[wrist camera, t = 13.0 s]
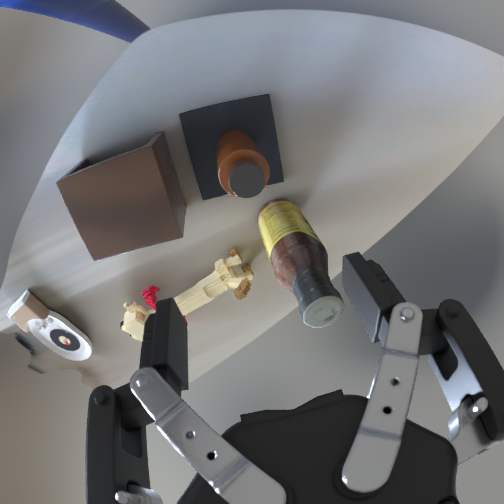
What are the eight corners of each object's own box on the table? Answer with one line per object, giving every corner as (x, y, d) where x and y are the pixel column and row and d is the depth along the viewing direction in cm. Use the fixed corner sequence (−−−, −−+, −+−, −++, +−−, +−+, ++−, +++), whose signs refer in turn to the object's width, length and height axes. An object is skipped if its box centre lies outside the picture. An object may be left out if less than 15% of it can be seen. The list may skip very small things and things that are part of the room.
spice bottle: (211, 134, 33) (213, 162, 23) (249, 126, 33) (269, 149, 23) (220, 170, 36) (226, 211, 26) (256, 161, 36) (278, 199, 26)
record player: (24, 297, 39) (100, 357, 50) (30, 285, 41) (102, 346, 52) (4, 318, 41) (71, 370, 52) (9, 307, 43) (74, 359, 54)
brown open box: (81, 160, 32) (55, 182, 25) (163, 130, 32) (151, 145, 25) (110, 229, 38) (94, 261, 32) (186, 206, 38) (183, 237, 32)
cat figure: (225, 231, 43) (107, 307, 45) (235, 264, 36) (99, 345, 38) (256, 274, 48) (144, 338, 51) (270, 309, 41) (142, 375, 44)
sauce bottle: (297, 231, 43) (349, 332, 27) (256, 236, 43) (289, 345, 27) (298, 191, 40) (362, 284, 23) (254, 196, 39) (292, 297, 23)
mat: (179, 113, 31) (179, 114, 31) (268, 94, 31) (269, 94, 31) (203, 199, 38) (203, 200, 38) (282, 180, 38) (283, 181, 38)
